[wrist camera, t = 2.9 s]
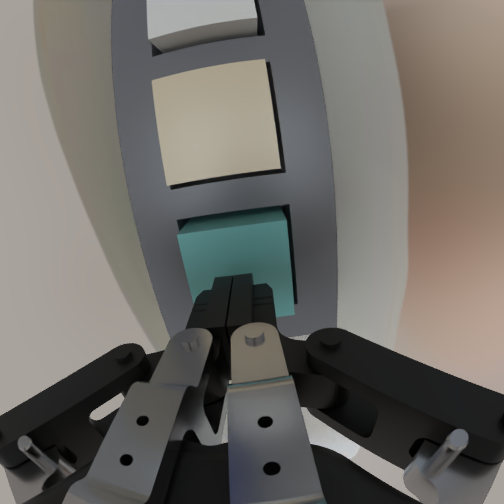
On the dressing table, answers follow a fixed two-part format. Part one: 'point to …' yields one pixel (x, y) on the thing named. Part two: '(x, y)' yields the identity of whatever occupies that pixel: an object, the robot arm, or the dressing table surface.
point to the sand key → (216, 122)
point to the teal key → (240, 251)
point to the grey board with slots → (237, 185)
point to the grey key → (198, 22)
